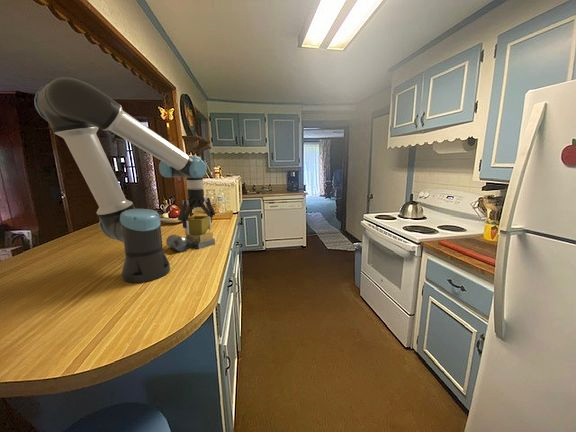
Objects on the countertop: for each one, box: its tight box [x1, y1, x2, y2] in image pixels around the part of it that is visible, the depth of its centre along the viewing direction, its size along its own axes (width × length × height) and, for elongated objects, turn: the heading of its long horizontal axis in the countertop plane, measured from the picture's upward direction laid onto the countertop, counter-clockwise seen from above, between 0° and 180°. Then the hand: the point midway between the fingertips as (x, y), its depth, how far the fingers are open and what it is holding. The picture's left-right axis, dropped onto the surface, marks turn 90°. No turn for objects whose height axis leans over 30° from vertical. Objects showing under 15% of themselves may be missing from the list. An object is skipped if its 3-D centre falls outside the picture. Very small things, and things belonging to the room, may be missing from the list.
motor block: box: [165, 231, 216, 253], centre depth 116 cm, size 14×19×6 cm
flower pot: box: [187, 215, 209, 236], centre depth 119 cm, size 9×9×9 cm
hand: (198, 231), depth 119 cm, fingers closed on flower pot, 11 cm apart
